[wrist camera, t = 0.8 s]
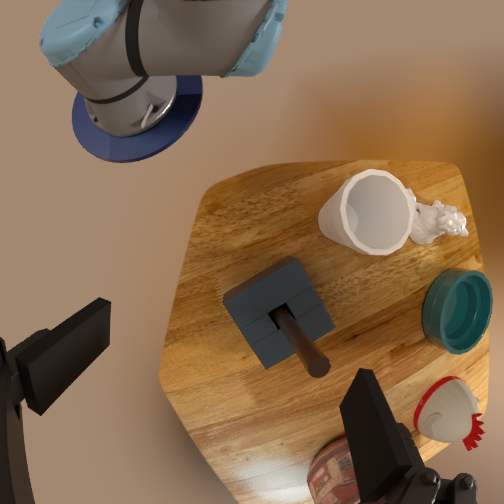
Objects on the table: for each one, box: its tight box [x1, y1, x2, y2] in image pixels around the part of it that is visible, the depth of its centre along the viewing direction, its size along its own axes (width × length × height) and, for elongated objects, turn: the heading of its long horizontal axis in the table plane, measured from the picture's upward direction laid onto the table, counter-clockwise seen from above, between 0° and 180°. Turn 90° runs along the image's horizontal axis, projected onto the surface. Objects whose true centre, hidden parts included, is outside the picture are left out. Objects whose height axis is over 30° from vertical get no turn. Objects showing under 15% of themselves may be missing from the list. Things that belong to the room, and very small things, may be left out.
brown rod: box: [270, 305, 331, 378], centre depth 31 cm, size 2×2×22 cm
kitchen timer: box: [414, 376, 485, 451], centre depth 38 cm, size 14×14×15 cm
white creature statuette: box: [406, 188, 468, 245], centre depth 37 cm, size 10×9×12 cm
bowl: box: [422, 268, 493, 355], centre depth 41 cm, size 15×15×6 cm
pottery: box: [307, 436, 386, 504], centre depth 35 cm, size 18×18×18 cm
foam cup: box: [318, 169, 414, 255], centre depth 36 cm, size 10×9×13 cm
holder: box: [223, 256, 335, 369], centre depth 39 cm, size 11×11×6 cm
